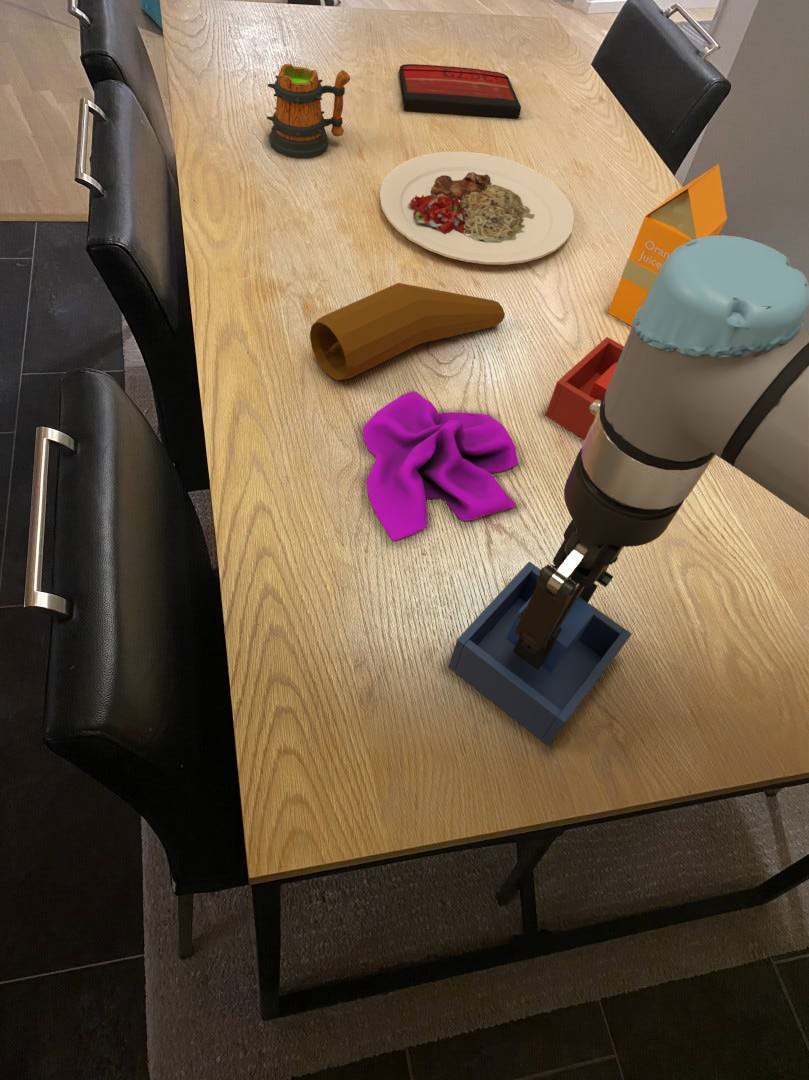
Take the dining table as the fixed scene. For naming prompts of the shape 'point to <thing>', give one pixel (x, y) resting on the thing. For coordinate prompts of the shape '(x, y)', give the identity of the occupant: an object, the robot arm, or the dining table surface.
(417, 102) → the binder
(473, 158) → the plated food
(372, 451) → the cloth
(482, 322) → the horn
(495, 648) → the blue bin
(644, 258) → the orange juice
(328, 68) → the dining table surface
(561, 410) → the red bin
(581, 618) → the blue block
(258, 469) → the dining table surface
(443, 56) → the dining table surface
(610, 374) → the red block
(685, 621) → the dining table surface
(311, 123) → the mug
